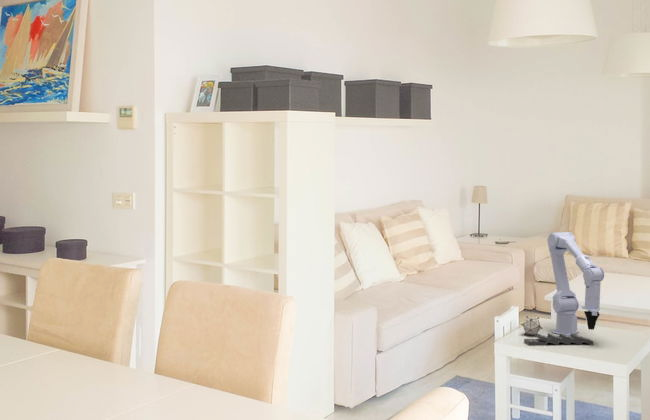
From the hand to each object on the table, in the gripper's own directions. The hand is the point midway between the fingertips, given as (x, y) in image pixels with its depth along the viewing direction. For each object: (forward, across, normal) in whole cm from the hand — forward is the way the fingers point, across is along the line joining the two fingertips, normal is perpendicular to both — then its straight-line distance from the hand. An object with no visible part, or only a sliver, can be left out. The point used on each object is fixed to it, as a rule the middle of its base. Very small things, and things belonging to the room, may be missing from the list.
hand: (591, 329), depth 314 cm
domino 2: (+5, +4, -14) cm, 16 cm away
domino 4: (+5, +1, -5) cm, 7 cm away
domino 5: (+5, 0, 0) cm, 5 cm away
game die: (+6, -8, -23) cm, 25 cm away
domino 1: (+5, +5, -19) cm, 20 cm away
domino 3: (+5, +3, -9) cm, 11 cm away
